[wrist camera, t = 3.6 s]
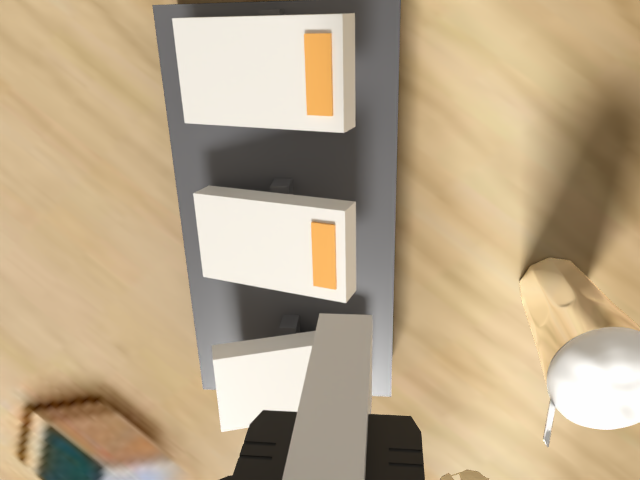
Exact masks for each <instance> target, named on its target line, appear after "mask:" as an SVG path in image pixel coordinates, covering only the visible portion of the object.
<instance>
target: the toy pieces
mask: <svg viewBox="0 0 640 480" xmlns="http://www.w3.org/2000/svg"><path fill="white" fill-rule="evenodd" d="M457 474H459V475H460V478H461V480H489V478H486V477H484V476H483V475H482V474H480V473H479V472H477V471H472V470H465V471H463V472H460V473H457ZM457 474H454V475H457ZM454 475H450V474H449V473H448V474H446V475H444V476H442V477H441V478H440V480H454V479H453V478H452V476H454Z"/></svg>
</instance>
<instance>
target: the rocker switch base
mask: <svg viewBox="0 0 640 480" xmlns="http://www.w3.org/2000/svg"><path fill="white" fill-rule="evenodd" d="M400 6H401V0H296V1H266V2H235V3H204V4H173V5H153V13H154V20H155V28H156V36H157V43H158V51H159V58H160V66H161V74H162V81H163V89H164V96H165V104H166V111H167V119H168V127H169V134H170V142H171V149H172V157H173V165H174V172H175V180H176V187H177V195H178V202H179V210H180V218H181V225H182V233H183V240H184V248H185V256H186V263H187V271H188V278H189V286H190V293H191V301H192V309H193V316H194V324H195V331H196V339H197V347H198V354H199V362H200V369H201V377H202V384H203V389H211V390H216V383H215V375H214V366H213V357H212V345H218V344H225V343H232V342H239V341H246V340H253V339H261V338H268V337H275V336H282V335H289V334H296V333H303V332H310V331H316V327H317V322H318V318H319V313H325V314H357V315H373V316H372V396H389V397H391V383H392V341H393V299H394V257H395V215H396V173H397V132H398V90H399V48H400ZM343 13H355V127H354V128H352V129H350V130H348V131H347V132H345V133H336V132H320V131H303V130H287V129H271V128H254V127H238V126H221V125H205V124H189V123H185V122H184V114H183V105H182V97H181V89H180V81H179V72H178V64H177V56H176V47H175V39H174V31H173V23H172V18H189V17H226V16H265V15H304V14H343ZM209 185H210V186H219V187H228V188H237V189H246V190H255V191H264V192H273V193H282V194H292V195H301V196H310V197H319V198H328V199H337V200H346V201H355V202H356V291H355V293H354V294H353V295H352V296H351V298H350V299H349V300H348V301H347V303H342V302H337V301H332V300H326V299H321V298H315V297H310V296H304V295H299V294H294V293H288V292H283V291H277V290H272V289H266V288H261V287H256V286H250V285H245V284H239V283H234V282H229V281H223V280H218V279H212V278H207V277H203V271H202V263H201V255H200V246H199V238H198V230H197V221H196V213H195V205H194V197H193V193H195V192H197V191H199V190H201V189H203V188H205V187H207V186H209Z"/></svg>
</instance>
